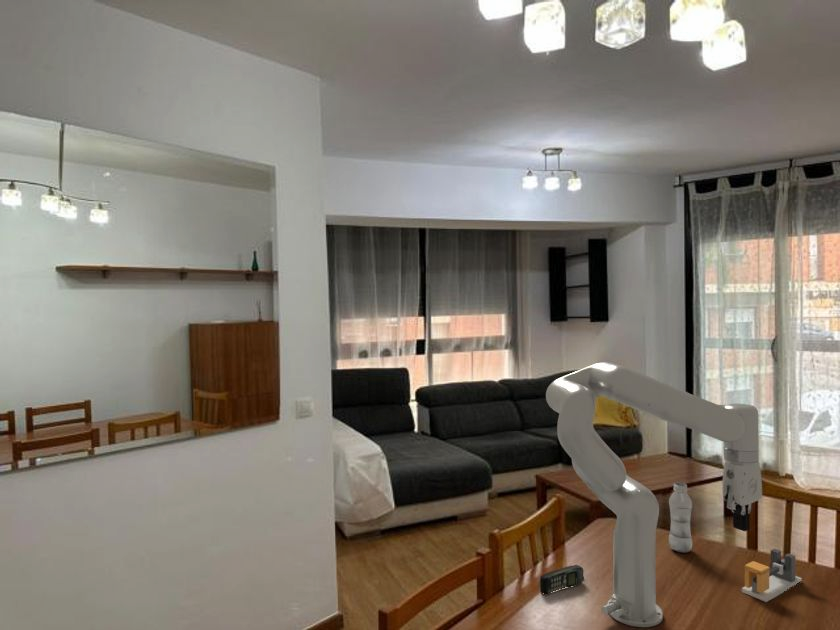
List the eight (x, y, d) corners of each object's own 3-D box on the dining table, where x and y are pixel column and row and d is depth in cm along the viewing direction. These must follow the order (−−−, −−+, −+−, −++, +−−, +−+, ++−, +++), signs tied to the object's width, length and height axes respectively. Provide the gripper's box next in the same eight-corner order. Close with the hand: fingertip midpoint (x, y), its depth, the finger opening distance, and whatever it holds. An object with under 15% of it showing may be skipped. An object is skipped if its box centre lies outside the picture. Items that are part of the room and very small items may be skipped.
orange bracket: (761, 593, 142) (761, 571, 142) (744, 586, 145) (744, 565, 145) (769, 588, 144) (769, 567, 144) (753, 581, 148) (753, 561, 147)
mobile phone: (545, 579, 146) (588, 564, 153) (537, 574, 148) (580, 559, 155) (545, 598, 146) (589, 582, 153) (538, 592, 149) (581, 577, 156)
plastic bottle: (687, 545, 174) (687, 480, 173) (696, 555, 167) (695, 488, 167) (665, 545, 175) (665, 480, 174) (673, 555, 168) (672, 488, 167)
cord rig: (766, 602, 142) (766, 572, 141) (741, 591, 147) (741, 563, 146) (801, 581, 151) (801, 553, 151) (777, 572, 156) (777, 545, 156)
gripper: (739, 463, 133) (740, 541, 133) (772, 453, 141) (773, 526, 141) (708, 456, 139) (709, 531, 140) (742, 446, 147) (742, 517, 148)
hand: (741, 528), depth 140 cm, fingers closed
